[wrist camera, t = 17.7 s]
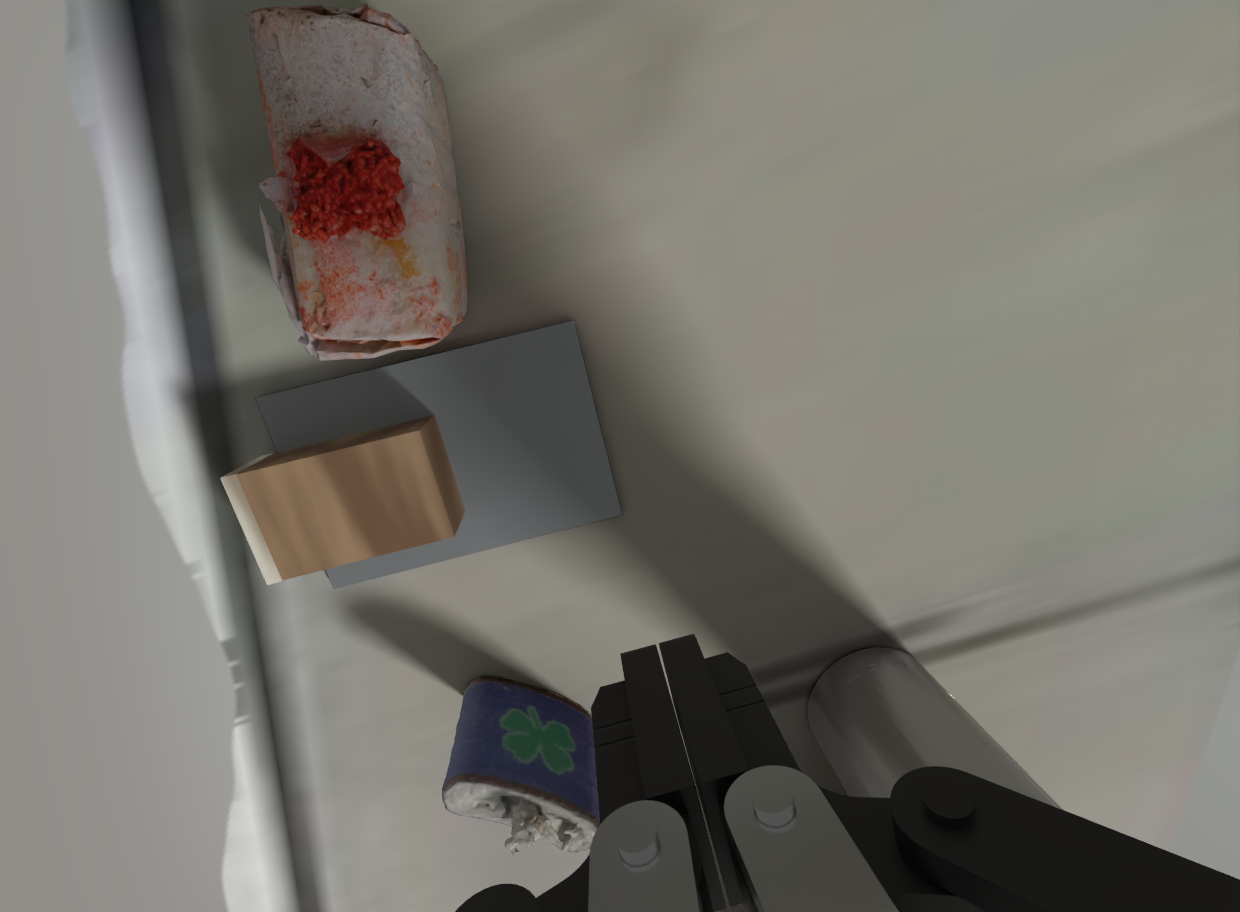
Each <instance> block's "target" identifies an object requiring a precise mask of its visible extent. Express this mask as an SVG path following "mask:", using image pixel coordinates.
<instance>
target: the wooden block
mask: <svg viewBox="0 0 1240 912" xmlns="http://www.w3.org/2000/svg"><path fill="white" fill-rule="evenodd" d="M220 479H221V481H222V484H223V486H224V488H225V490H226V493H227V495H228V497H229V499H230V502H231V504H232V506H233V509H234V511H235V513H236V515H237V518H238V520H239V522H240V524H241V527H242V529H243V531H244V533H245V536H246V538H247V540H248V543H249V545H250V547H251V549H252V552H253V554H254V556H255V558H256V561H257V563H258V565H259V568H260V570H261V572H262V574H263V577H264V579H265V581H266V583H267V585H270V584H274V583H278V582H282V581H283V580H285V579H289V578H293V577H297V576H301V575H305V574H309V573H313V572H317V571H321V570H325V569H329V568H333V567H337V566H341V565H345V564H349V563H353V562H357V561H361V560H365V559H369V558H373V557H377V556H381V555H385V554H389V553H393V552H397V551H401V550H405V549H409V548H413V547H417V546H421V545H425V544H429V543H433V542H437V541H441V540H445V539H449V538H453V537H455V535H456V532H457V530H458V528H459V525H460V523H461V520H462V518H463V516H464V513H465V508H464V504H463V501H462V498H461V495H460V492H459V489H458V486H457V483H456V480H455V476H454V473H453V470H452V467H451V464H450V461H449V458H448V455H447V452H446V448H445V445H444V442H443V439H442V436H441V433H440V430H439V427H438V424H437V421H436V417H435V415H432V416H428V417H424V418H420V419H416V420H412V421H408V422H403V423H399V424H395V425H391V426H387V427H383V428H379V429H374V430H370V431H366V432H362V433H358V434H354V435H350V436H345V437H341V438H337V439H333V440H329V441H325V442H321V443H316V444H312V445H308V446H304V447H300V448H296V449H292V450H287V451H283V452H279V453H275V454H274V453H271V454H267V455H262V456H259V457H257V458H255V459H253V460H252V461H250V462H248V463H246V464H244V465H243V466H241V467H239V468H237V469H235V470H233V471H232V472H230V473H228V474H226V475H224V476H222V477H221V478H220Z"/></svg>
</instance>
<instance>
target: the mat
mask: <svg viewBox="0 0 1240 912" xmlns="http://www.w3.org/2000/svg"><path fill="white" fill-rule="evenodd" d="M255 400H256V402H257V405H258V407H259V410H260V412H261V414H262V417H263V419H264V422H265V424H266V426H267V429H268V431H269V434H270V436H271V439H272V441H273V443H274V446H275V448H276V451H277V453H279V452H283V451H287V450H292V449H296V448H300V447H304V446H308V445H312V444H316V443H321V442H325V441H329V440H333V439H337V438H341V437H345V436H350V435H354V434H358V433H362V432H366V431H370V430H374V429H379V428H383V427H387V426H391V425H395V424H399V423H403V422H408V421H412V420H416V419H420V418H424V417H428V416H432V415H435V417H436V421H437V424H438V427H439V430H440V433H441V436H442V439H443V442H444V445H445V448H446V452H447V455H448V458H449V461H450V464H451V467H452V470H453V473H454V476H455V480H456V483H457V486H458V489H459V492H460V495H461V498H462V501H463V504H464V508H465V513H464V516H463V518H462V520H461V523H460V525H459V528H458V530H457V532H456V535H455V537H453V538H449V539H445V540H441V541H437V542H433V543H429V544H425V545H421V546H417V547H413V548H409V549H405V550H401V551H397V552H393V553H389V554H385V555H381V556H377V557H373V558H369V559H365V560H361V561H357V562H353V563H349V564H345V565H341V566H337V567H333V568H329V569H326V572H327V574H328V576H329V579H330V581H331V584H332V586H333V588H334V589H335V588H339V587H343V586H347V585H351V584H355V583H359V582H363V581H367V580H370V579H374V578H378V577H382V576H386V575H390V574H394V573H398V572H402V571H405V570H409V569H413V568H417V567H421V566H425V565H429V564H433V563H437V562H441V561H444V560H448V559H452V558H456V557H460V556H464V555H468V554H472V553H476V552H479V551H483V550H487V549H491V548H495V547H499V546H503V545H507V544H511V543H514V542H518V541H522V540H526V539H530V538H534V537H538V536H542V535H546V534H549V533H553V532H557V531H561V530H565V529H569V528H573V527H577V526H581V525H584V524H588V523H592V522H596V521H600V520H604V519H608V518H612V517H616V516H619V515H622V513H621V509H620V505H619V501H618V497H617V493H616V489H615V485H614V481H613V477H612V473H611V469H610V465H609V461H608V457H607V453H606V449H605V445H604V441H603V437H602V433H601V429H600V425H599V421H598V416H597V412H596V408H595V404H594V400H593V396H592V392H591V388H590V384H589V380H588V376H587V372H586V368H585V364H584V360H583V356H582V352H581V348H580V344H579V340H578V336H577V332H576V328H575V324H574V320H572V321H568V322H564V323H560V324H556V325H552V326H548V327H544V328H539V329H535V330H531V331H527V332H523V333H519V334H515V335H511V336H507V337H503V338H498V339H494V340H490V341H486V342H482V343H478V344H474V345H470V346H466V347H462V348H457V349H453V350H449V351H445V352H441V353H437V354H433V355H429V356H425V357H421V358H416V359H412V360H408V361H404V362H400V363H396V364H392V365H388V366H384V367H380V368H375V369H371V370H367V371H363V372H359V373H355V374H351V375H347V376H343V377H339V378H334V379H330V380H326V381H322V382H318V383H314V384H310V385H306V386H302V387H298V388H293V389H289V390H285V391H281V392H277V393H273V394H269V395H265V396H261V397H258V398H255Z"/></svg>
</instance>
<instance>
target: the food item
mask: <svg viewBox="0 0 1240 912" xmlns="http://www.w3.org/2000/svg"><path fill="white" fill-rule="evenodd" d="M246 16H247V20H248V24H249V29H250V37H251V40H252V41H253V42H254V43H255V45H254V48H253V50H254V54H255V58H256V63H257V70H258V77H259V83H260V90H261V96H262V101H263V107H264V112H265V117H266V127H267V134H268V137H269V140H270V145H271V152H272V157H273V163H274V168H275V172H276V177H268V178H266V179H265V180H263V181H262V182H260V183H259V186H260V188H261V190H262V192H263V194H264V196H265V198H267V199H269V200H271V201H273V202H275V205H276V207H277V210H278V211H280V212H282V215H281V221H282V224H283V228H284V233H283V236H282V238H281V240H280V242H279V246H280V252H279V254H278V253H277V251H276V250H275V241H274V231H273V228H272V227H271V225H270V224H269V223H268V222H267V221H266V219H265V216H264V214H263V212H262V209H261V207H260V204H259V214H260V219H261V223H262V227H263V232H264V236H265V243H266V249H267V254H268V258H269V262H270V266H271V272H272V277H273V280H274V282H275V284H276V286H277V287H278V289H279V291H280V293H281V295H282V297H283V298H284V300H285V304H286V307H287V310H288V314H289V317H290V319H291V320H292V322H293V324H294V325H295V327H296V328H297V330H298V331H299V333H300V335H301V337H300V339H299V340H298V341H299V342H300V343H301V344H302V345H303V346H304V348H305V349H306V351H308V352H309V353H310V354H311V355H312V356H318V358H319V360H320V361H323V360H341V359H366V358H376V357H379V356H382V355H385V354H388V353H391V352H394V351H397V350H409V349H424V348H427V347H430V346H432V345H435V344H437V343H438V342H440V341H441V340H442V339H444V338H445V337H446V336H447V335H448V334H449V333H450V332H451V331H453V328H454V327H455V326H457V325H458V324H459V323H461V322H464V320H463V319H464V318H465V316H466V312H467V293H468V289H467V269H466V254H465V244H464V235H463V226H462V216H461V206H460V202H459V199H458V196H457V177H456V170H455V164H454V159H453V156H452V138H451V130H450V125H449V118H448V110H447V102H446V97H445V92H444V87H443V82H442V80H441V77H440V75H439V73H438V68H437V66H436V65H434V64H433V61H432V60H431V59H430V58H429V57H428V56H427V54H426V53H425V52H424V50H423V49H422V47H421V44H420V43H419V41H418V40H417V39H415V37H414V33H410V32H409V30H408V29H407V28H406V27H405V26H403V25H402V24H401V23H400V22H399V21H397V20H396V19H395V18H394V17H392V16H391V15H390V14H387V13H383V12H380V11H375V10H371V9H369V8H368V6H367V4H366V3H365V4H364V5H362V6H361V7H359V8H357V9H347V8H332V7H324V6H310V5H306V6H285V7H270V8H263V9H259V10H254V11H252V12H250V13H249V14H247V15H246ZM264 183H265V184H266V186H264V185H263V184H264ZM279 202H281V203H279ZM278 206H279V207H278Z"/></svg>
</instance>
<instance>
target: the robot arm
mask: <svg viewBox="0 0 1240 912" xmlns="http://www.w3.org/2000/svg"><path fill="white" fill-rule="evenodd" d="M659 646H660V650H661V654H662V658H663V662H664V666H665V670H666V674H667V678H668V682H669V686H670V690H671V694H672V698H673V702H674V706H675V710H676V714H677V717H678V721H679V725H680V729H681V732H682V736H683V740H684V743H685V747H686V750H687V754H688V757H689V761H690V765H691V768H692V772H693V775H694V779H695V782H696V786H697V789H698V793H699V796H700V800H701V804H702V807H703V811H704V814H705V818H706V821H707V825H708V828H709V832H710V835H711V839H712V843H713V846H714V850H715V853H716V857H717V860H718V864H719V867H720V871H721V874H722V878H723V882H724V885H725V889H726V892H727V896H728V899H729V903H730V906H733V905H737V904H740V903H744V904H745V908H746V911H747V912H1240V880H1239V879H1236V878H1234V877H1231V876H1229V875H1226V874H1224V873H1221V872H1219V871H1216V870H1214V869H1211V868H1209V867H1206V866H1204V865H1201V864H1198V863H1196V862H1193V861H1191V860H1188V859H1186V858H1183V857H1181V856H1178V855H1176V854H1173V853H1171V852H1168V851H1166V850H1163V849H1160V848H1158V847H1155V846H1153V845H1150V844H1148V843H1145V842H1143V841H1140V840H1138V839H1135V838H1133V837H1130V836H1127V835H1125V834H1122V833H1120V832H1117V831H1115V830H1112V829H1110V828H1107V827H1105V826H1102V825H1100V824H1097V823H1094V822H1092V821H1089V820H1087V819H1084V818H1082V817H1079V816H1077V815H1074V814H1072V813H1069V812H1066V811H1064V810H1063V809H1062V808H1061V807H1060V806H1059V805H1058V804H1057V803H1056V802H1055V801H1054V800H1053V799H1052V798H1051V797H1050V796H1049V795H1048V794H1047V793H1046V792H1045V791H1044V790H1043V789H1042V788H1041V787H1040V786H1039V785H1038V784H1037V783H1036V782H1035V781H1034V780H1033V779H1032V778H1031V777H1030V776H1029V775H1028V774H1027V773H1026V772H1025V771H1024V769H1023V768H1022V767H1021V766H1020V765H1019V764H1018V763H1017V762H1016V761H1015V760H1014V759H1013V758H1012V757H1011V756H1010V755H1009V754H1008V753H1007V752H1006V751H1005V750H1004V749H1003V748H1002V747H1001V746H1000V745H999V744H998V743H997V742H996V741H995V740H994V739H993V738H992V737H991V736H990V735H989V734H988V733H987V732H986V731H985V730H984V729H983V728H982V727H981V726H980V725H979V724H978V723H977V721H976V720H975V719H974V718H973V717H972V716H971V715H970V714H969V713H968V712H967V711H966V710H965V709H964V708H963V707H962V706H961V705H960V704H959V703H958V702H957V701H956V700H955V699H954V698H953V697H952V696H951V695H950V694H949V693H948V692H947V691H946V690H945V689H944V688H943V687H942V686H941V685H940V684H939V683H938V682H937V681H936V679H935V678H934V677H933V676H932V675H931V674H930V673H929V672H928V671H927V670H926V669H925V668H924V667H923V666H922V665H921V664H920V663H919V662H918V661H916V660H915V659H914V658H913V657H912V656H911V655H909V654H906V653H904V652H902V651H900V650H896V649H892V648H886V647H874V648H868V649H862V650H859V651H857V652H854V653H851V654H849V655H847V656H845V657H843V658H842V659H840V660H838V661H837V662H835V663H834V664H833V665H832V666H831V667H829V668H828V669H827V670H826V671H825V672H824V674H823V675H822V676H821V677H820V678H819V680H818V681H817V683H816V685H815V686H814V688H813V690H812V692H811V695H810V699H809V702H808V711H807V717H808V722H809V727H810V729H811V731H812V733H813V735H814V737H815V739H816V740H817V742H818V744H819V745H820V747H821V749H822V751H823V752H824V754H825V756H826V758H827V759H828V761H829V763H830V764H831V766H832V768H833V770H834V771H835V773H836V775H837V777H838V779H839V780H840V782H841V784H842V785H843V787H844V789H845V791H846V792H847V794H848V796H845V795H840V794H836V793H833V792H830V791H828V790H826V789H824V788H821V787H820V786H818V785H816V783H815V782H814V781H813V780H812V779H810V778H809V777H808V776H807V775H805V774H804V773H803V772H802V771H801V770H800V768H799V767H798V765H797V764H796V762H795V760H794V758H793V756H792V754H791V752H790V750H789V748H788V746H787V744H786V742H785V740H784V738H783V736H782V734H781V732H780V730H779V729H778V727H777V725H776V723H775V721H774V719H773V717H772V715H771V713H770V711H769V709H768V707H767V705H766V704H765V702H764V699H763V697H762V695H761V693H760V691H759V690H758V688H757V687H756V684H755V682H754V680H753V678H752V676H751V674H750V672H749V670H748V668H747V666H746V665H745V664H743V663H742V662H740V661H739V660H738V659H736V658H735V657H733V656H732V655H731V654H729V653H728V652H727V653H724V654H720V655H716V656H713V657H709V658H705V659H704V657H703V654H702V652H701V649H700V647H699V644H698V642H697V639H696V637H695V635H694V634H691V635H688V636H684V637H680V638H676V639H673V640H669V641H665V642H662V643H659ZM621 660H622V666H623V672H624V678H625V681H621V682H618V683H614V684H610V685H606V686H603V687H600V689H599V691H598V694H597V696H596V698H595V700H594V703H593V705H592V707H591V713H592V726H593V732H594V733H593V739H594V748H595V751H594V752H595V765H596V778H597V791H598V804H599V817H600V826H599V827H598V829H597V830H596V832H595V835H594V837H593V839H592V843H591V847H590V854H589V856H588V857H587V859H586V860H585V861H584V863H583V864H582V865H581V866H580V867H579V868H578V869H577V870H576V871H575V872H574V873H573V874H572V875H570V876H569V877H568V878H566V879H565V880H563V881H562V882H560V883H559V884H557V885H556V886H554V887H553V888H551V889H549V890H548V891H546V892H545V893H543V894H542V895H540V896H538V897H537V898H535V896H534V895H533V894H532V893H531V892H530V891H529V890H527V889H526V888H524V887H522V886H519V885H515V884H499V885H495V886H491V887H489V888H486V889H484V890H482V891H480V892H478V893H476V894H475V895H473V896H472V897H471V898H469V899H468V900H467V901H465V902H464V903H463V904H462V905H461V906H460V907H459V908H458V909H457V910H456V911H455V912H714V911H717V910H720V909H724V908H726V905H725V901H724V897H723V893H722V889H721V885H720V881H719V877H718V873H717V869H716V865H715V861H714V857H713V854H712V850H711V846H710V842H709V838H708V834H707V830H706V826H705V822H704V818H703V814H702V810H701V806H700V802H699V798H698V794H697V790H696V786H695V783H694V779H693V776H692V772H691V768H690V765H689V761H688V758H687V754H686V751H685V747H684V743H683V740H682V736H681V733H680V729H679V726H678V722H677V718H676V715H675V711H674V708H673V704H672V700H671V697H670V693H669V690H668V686H667V683H666V679H665V675H664V672H663V668H662V665H661V661H660V658H659V654H658V650H657V647H656V644H655V645H651V646H647V647H644V648H640V649H636V650H633V651H629V652H625V653H621Z"/></svg>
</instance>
